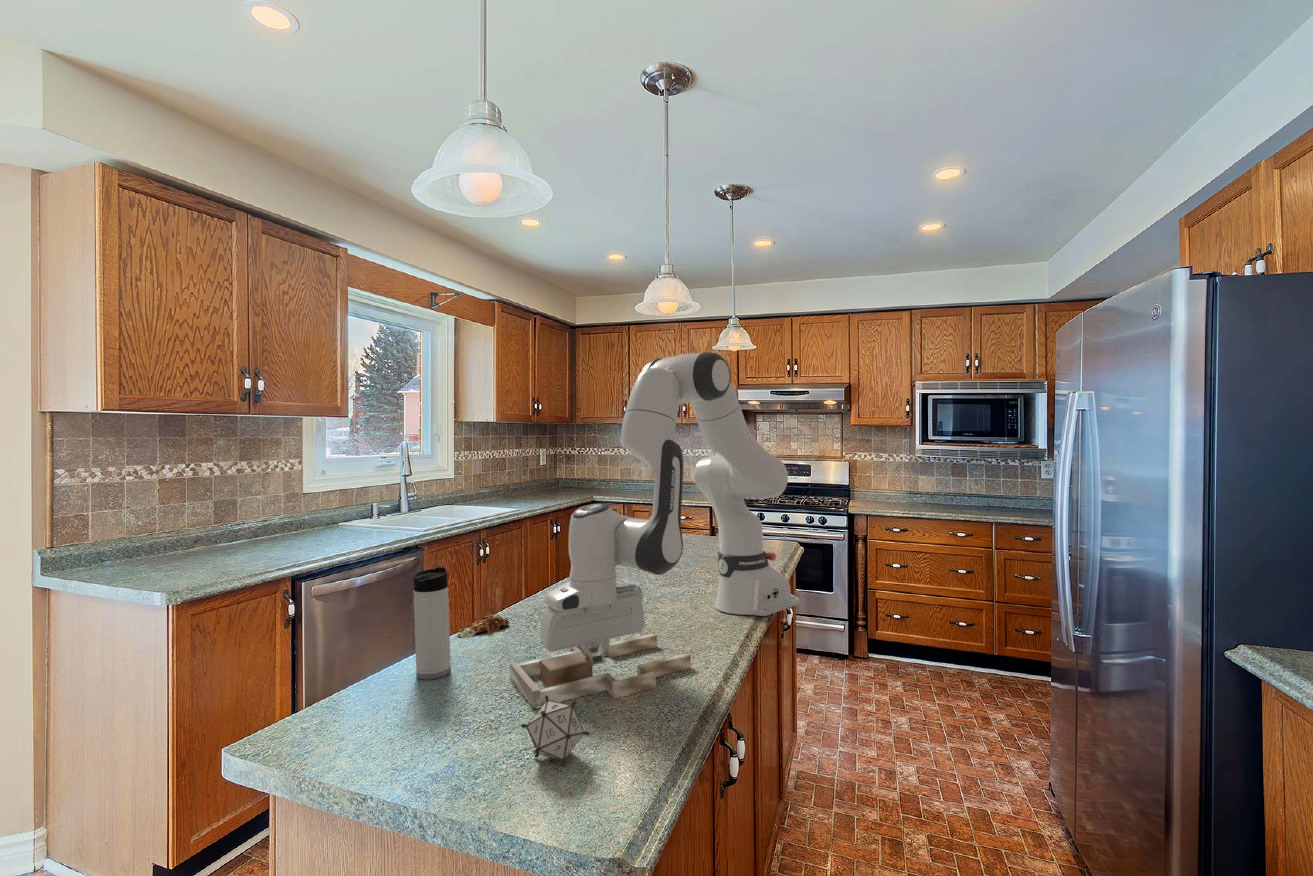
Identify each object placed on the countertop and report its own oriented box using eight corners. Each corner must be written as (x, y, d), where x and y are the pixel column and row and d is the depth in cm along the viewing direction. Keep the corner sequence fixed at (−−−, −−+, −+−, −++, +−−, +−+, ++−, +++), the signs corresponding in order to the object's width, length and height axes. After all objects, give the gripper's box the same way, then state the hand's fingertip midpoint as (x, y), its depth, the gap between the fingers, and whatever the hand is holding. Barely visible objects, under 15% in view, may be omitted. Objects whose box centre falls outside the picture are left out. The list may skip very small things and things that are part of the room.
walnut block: (580, 672, 114) (580, 651, 114) (592, 683, 109) (592, 661, 109) (540, 681, 110) (539, 660, 110) (551, 693, 105) (550, 671, 105)
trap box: (645, 639, 130) (645, 625, 130) (702, 675, 111) (702, 659, 111) (504, 671, 115) (503, 656, 115) (541, 719, 95) (541, 700, 95)
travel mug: (458, 668, 117) (455, 567, 117) (436, 681, 111) (432, 575, 110) (432, 664, 119) (429, 565, 119) (409, 678, 113) (405, 573, 113)
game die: (546, 779, 85) (528, 708, 90) (601, 754, 86) (580, 685, 91) (526, 781, 77) (507, 703, 82) (586, 753, 78) (564, 678, 83)
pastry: (452, 636, 137) (452, 621, 137) (494, 622, 146) (494, 608, 146) (471, 642, 133) (470, 626, 132) (512, 627, 142) (512, 612, 142)
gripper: (634, 579, 120) (636, 647, 120) (536, 595, 110) (538, 669, 110) (649, 586, 114) (651, 657, 115) (548, 604, 104) (550, 682, 104)
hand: (595, 663), depth 112 cm, fingers closed
